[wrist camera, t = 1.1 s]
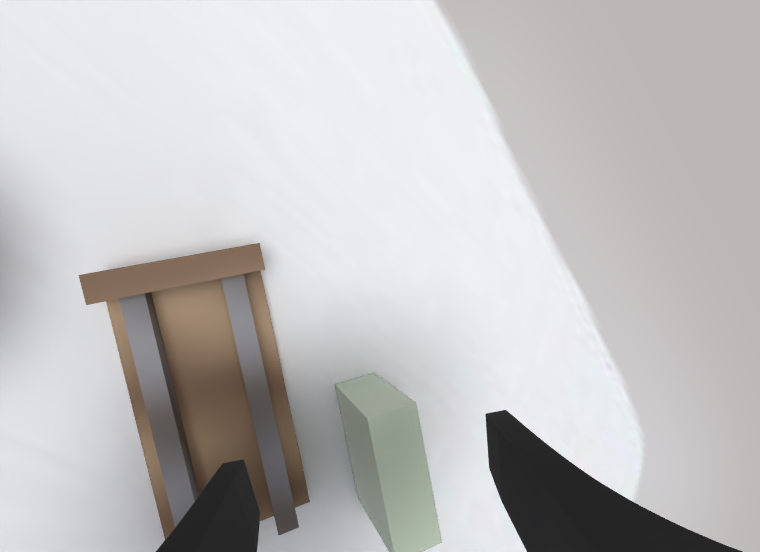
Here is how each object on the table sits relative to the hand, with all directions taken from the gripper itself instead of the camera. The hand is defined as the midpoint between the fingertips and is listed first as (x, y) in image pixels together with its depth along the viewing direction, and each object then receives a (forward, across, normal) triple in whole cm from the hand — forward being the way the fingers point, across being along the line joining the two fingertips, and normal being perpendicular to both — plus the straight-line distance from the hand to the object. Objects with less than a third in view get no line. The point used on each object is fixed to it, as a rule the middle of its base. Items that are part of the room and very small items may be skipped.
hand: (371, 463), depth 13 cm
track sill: (+10, +8, +3) cm, 13 cm away
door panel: (+11, +1, +8) cm, 13 cm away
